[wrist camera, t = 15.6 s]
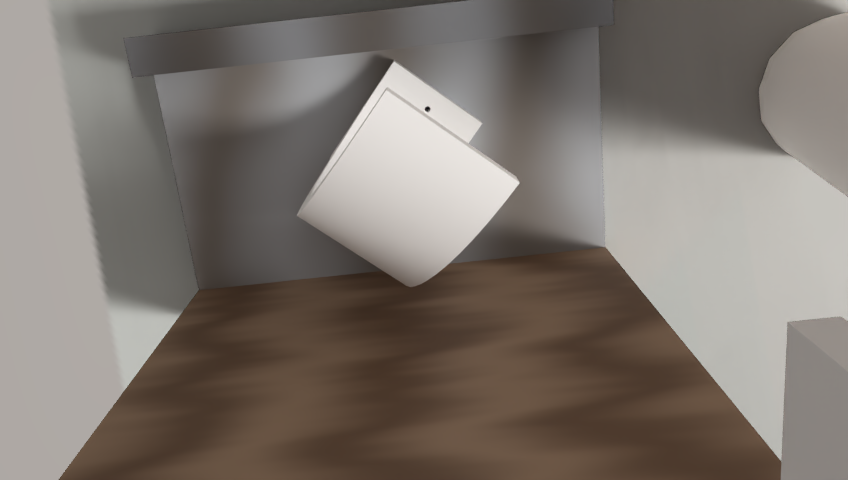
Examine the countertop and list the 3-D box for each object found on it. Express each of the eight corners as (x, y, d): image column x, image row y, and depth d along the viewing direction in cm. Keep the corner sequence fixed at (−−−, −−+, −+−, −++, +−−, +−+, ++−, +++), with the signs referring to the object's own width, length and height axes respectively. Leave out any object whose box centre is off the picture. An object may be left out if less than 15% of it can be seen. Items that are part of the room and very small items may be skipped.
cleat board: (591, -14, 32) (865, -44, 13) (601, 279, 36) (820, 590, 17) (153, 35, 32) (-224, 75, 13) (212, 320, 36) (-8, 672, 17)
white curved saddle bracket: (481, 120, 32) (521, 183, 21) (403, 229, 34) (400, 343, 22) (394, 58, 32) (386, 88, 20) (317, 173, 33) (269, 262, 22)
